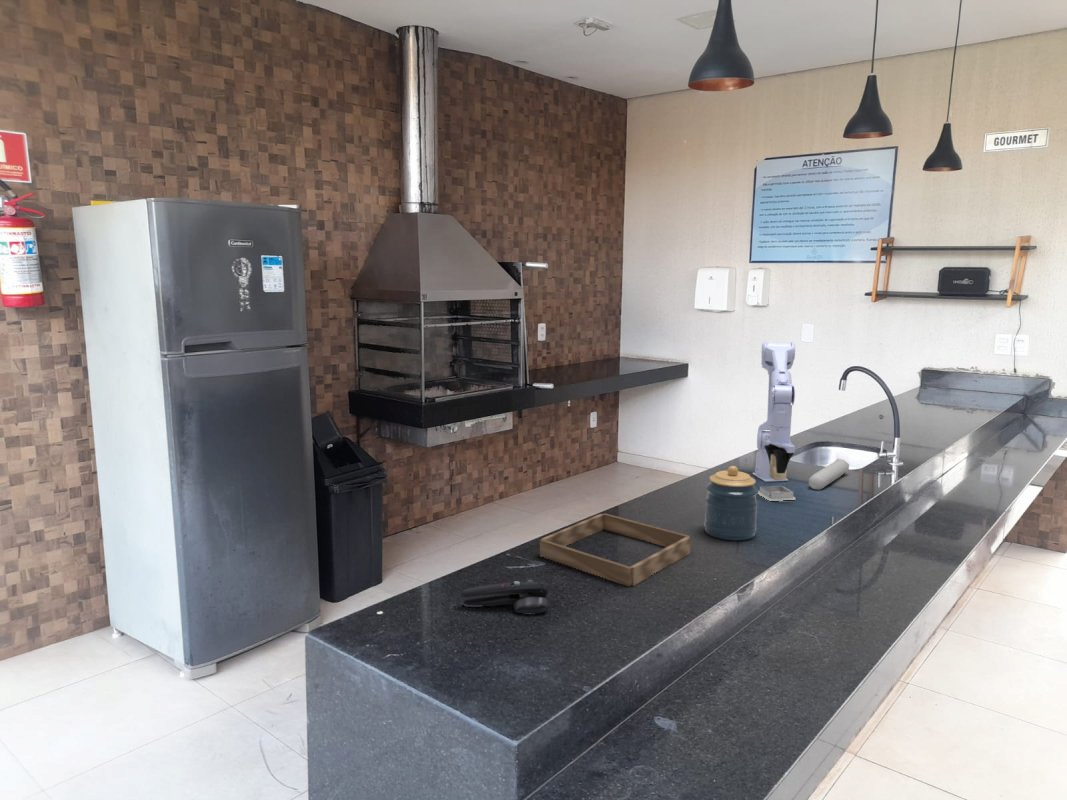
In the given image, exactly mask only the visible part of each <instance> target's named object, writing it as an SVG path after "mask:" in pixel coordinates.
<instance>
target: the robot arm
mask: <svg viewBox="0 0 1067 800" xmlns="http://www.w3.org/2000/svg"><path fill="white" fill-rule="evenodd" d="M795 358H796V344H795V343H794V342H793V341H791V342H778V341H776V342H775V341H763V342H762V344H761V362H760V363H761V367H762V368H763V369H764V370H766V371H767V375H768V395H767V416H766V417H767V418H766V421H764V422H763V423H761V424H760V425H759V426H758V429H757V437H756V448H757V449H758V451H757V452H756V454H755V467H754V468H755V469H754V472H752V475H754V476H755V477H757V478H758V479H760V480H762V481H764V483H765V482H766V483H767V482H788V481H789V479H788V478H787V477H786V480H774V479H772V478H770V477H769V474H770V460H771V454H775V457H776V468H777V473H785V471H786V468H787V469H788V465H789V462H790V460H791V458H792V457H793V456H794V454H795V451H796V446H795V445H794V444H793V443H792V442H791V429H792V413H793V406H794V404H795V399H796V389H795V385H794V384H793V382H792V373H791V372H790V371H789V370H790V369H792V366H793V365H794V361H795Z"/></svg>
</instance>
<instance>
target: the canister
mask: <svg viewBox="0 0 1067 800" xmlns="http://www.w3.org/2000/svg"><path fill="white" fill-rule="evenodd" d="M709 481H710V482H708V483H707V484H706V485H705V489H706V490H707V496H706V497H705V498H704V499H705V500H704V501H705V516H704V521H703V522H704V524H703V526H704V530H705V533H706V534H707V535H708V536H711V537H713V538H716V539H720V540H724V541H725V540H726V541H733V542H734V541H747V540H751V539H753V538H754V537H755V535H756V531H757V511H758V505H759V502H758V500H757V495H758V494H757V493H758V492H759V491H760V489H758V487H757V486H756V485H755V484H756V483H757V482H756V479H755V478H754V477H752V476H751V475H750V474H748V473H746V472H743V471H739V469H738V467H737V466H736V465H730V466H729V467H728V468H727V470H720V471H717V472H715V473H714V474H712V475H710V476H709Z"/></svg>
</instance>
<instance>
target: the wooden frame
mask: <svg viewBox="0 0 1067 800" xmlns="http://www.w3.org/2000/svg"><path fill="white" fill-rule="evenodd" d="M603 530H604V531H608V532H612V533H615V534H617V535H618V534H619V535H622V536H626V537H630V538H632V539H633V538H634V539H636V540H641V541H643V540H644V541H643V542H647V543H650V542H651V543H650V544H654V545H658V546H662V547H664V548H663V549H661V550H659V551H657V552H655V553H653V554H652V555H649V556H648V557H646V558H644V559H642V560H639V561H638V562H636V563H635V564H633V565H631V566H629V565H626V564H622V563H619V562H616V561H614V560H610V559H607V558H604V557H599V556H597V555H595V554H594V555H593V554H592V553H591V554H590V553H587V552H584V551H581V550H578V549H575V548H572V547H568V546H570V545H572V544H574V543H576V541H577V542H578V541H581V540H583V539H586V538H588V537H590V536H592V535H594V534H596V533H599V532H602V531H603ZM589 535H590V536H589ZM587 536H588V537H587ZM585 537H586V538H585ZM691 537H692V536H691V535H688V534H685V533H680V532H677V531H672V530H669V529H666V528H662V527H658V526H654V525H651V524H646V523H643V522H639V521H636V520H632V519H627V518H624V517H621V516H616V515H613V514H609V513H600V514H597V515H594V516H592V517H589V518H588V519H585V520H582V521H580V522H578V523H575V524H574V525H570V526H569V527H566V528H563V529H561V530H559V531H555V532H554V533H551V534H549V535H547V536H544V537H542V538H541V539H540V540H539V557H540V558H542V557H544V558H543V559H545V558H546V560H548V559H550V560H549V561H551V560H553V561H552V562H554V561H555V562H554V563H557V562H559V563H558V564H560V563H562V564H561V565H563V564H565V565H564V566H566V565H568V566H567V567H569V566H571V567H570V568H572V567H573V569H575V568H576V569H575V570H578V569H579V571H581V570H582V572H585V573H587V572H588V573H587V574H590V573H591V574H590V575H593V574H594V576H596V575H597V577H599V576H600V577H599V578H602V577H603V578H602V579H605V578H606V580H608V581H612V582H614V583H617V584H620V585H622V586H627V587H631V586H636V585H638V584H639V583H641V582H643V581H645V580H646V579H649V578H650V577H651V575H652V576H653V575H655V574H656V572H657V573H658V571H659V572H660V571H662V570H664V569H665V568H668V567H669V566H671V565H672V564H674V563H675V562H678V561H680V560H682V559H683V558H684V557H686V556H688V555H690V553H691ZM569 544H570V545H569ZM567 545H568V546H567ZM670 564H671V565H670ZM668 565H669V566H668ZM663 568H664V569H663ZM654 573H655V574H654Z"/></svg>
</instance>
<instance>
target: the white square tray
mask: <svg viewBox="0 0 1067 800" xmlns="http://www.w3.org/2000/svg"><path fill="white" fill-rule="evenodd" d="M759 491H760V493H761V494H763V495H765V496H766V497H768V498H771V499H782V498H793V497H794V491H792V490H791V489H789V488H787V487H786V486H783V485H765V486H759ZM774 491H781V492H783V493H771V492H774Z"/></svg>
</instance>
